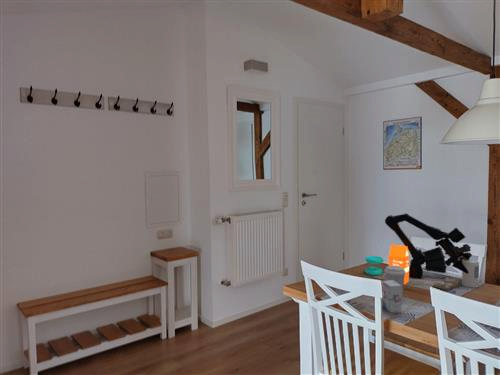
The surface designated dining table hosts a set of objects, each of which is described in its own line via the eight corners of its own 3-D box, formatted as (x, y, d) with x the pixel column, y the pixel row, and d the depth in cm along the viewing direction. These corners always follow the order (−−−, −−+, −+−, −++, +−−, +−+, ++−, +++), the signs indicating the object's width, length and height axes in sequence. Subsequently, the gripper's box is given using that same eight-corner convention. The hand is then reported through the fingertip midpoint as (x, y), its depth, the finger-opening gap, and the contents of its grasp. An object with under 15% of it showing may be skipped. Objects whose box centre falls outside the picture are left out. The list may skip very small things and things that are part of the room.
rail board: (445, 291, 186) (445, 284, 186) (431, 288, 192) (432, 281, 192) (459, 286, 194) (459, 279, 194) (446, 283, 200) (446, 276, 200)
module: (462, 285, 197) (462, 260, 196) (466, 283, 199) (467, 259, 199) (474, 288, 192) (474, 263, 191) (479, 286, 194) (479, 262, 193)
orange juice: (405, 284, 198) (405, 247, 198) (388, 281, 204) (388, 245, 203) (408, 281, 205) (409, 245, 204) (392, 278, 210) (392, 243, 209)
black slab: (450, 271, 218) (438, 247, 222) (428, 277, 226) (418, 253, 230) (452, 270, 221) (440, 246, 224) (430, 276, 229) (420, 252, 233)
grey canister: (379, 298, 176) (380, 267, 175) (391, 294, 182) (391, 264, 181) (398, 304, 168) (398, 271, 168) (409, 299, 174) (409, 268, 174)
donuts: (386, 258, 216) (372, 259, 213) (386, 275, 216) (372, 276, 213) (376, 254, 225) (361, 256, 222) (376, 271, 226) (361, 272, 223)
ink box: (381, 305, 167) (382, 279, 166) (392, 305, 167) (392, 279, 167) (390, 313, 158) (390, 285, 158) (401, 312, 158) (402, 285, 158)
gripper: (451, 241, 194) (473, 266, 185) (468, 237, 204) (490, 261, 196) (436, 253, 201) (456, 278, 192) (453, 249, 211) (474, 272, 203)
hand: (470, 272), depth 195 cm, fingers closed on module, 5 cm apart
